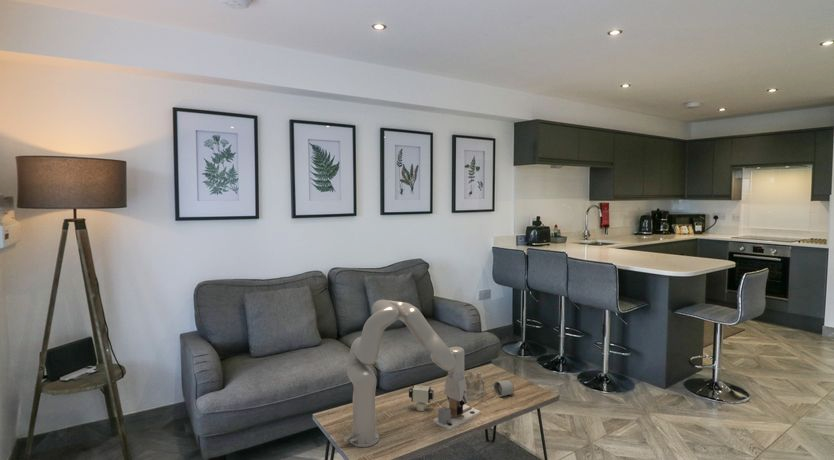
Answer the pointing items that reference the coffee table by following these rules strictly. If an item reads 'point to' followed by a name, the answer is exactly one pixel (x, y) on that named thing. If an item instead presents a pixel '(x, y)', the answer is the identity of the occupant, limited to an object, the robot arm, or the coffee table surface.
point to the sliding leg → (454, 407)
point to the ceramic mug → (503, 388)
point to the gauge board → (451, 421)
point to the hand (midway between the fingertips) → (456, 411)
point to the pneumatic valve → (421, 396)
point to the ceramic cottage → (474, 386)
